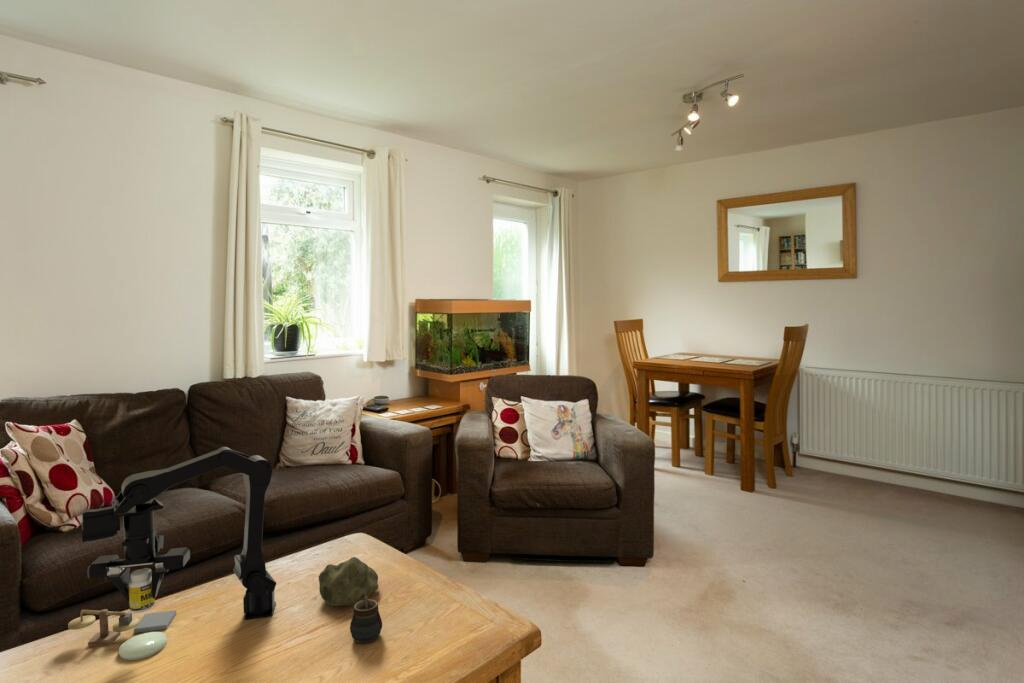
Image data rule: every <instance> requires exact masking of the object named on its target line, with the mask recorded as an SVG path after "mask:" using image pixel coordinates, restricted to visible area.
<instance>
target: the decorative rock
mask: <svg viewBox="0 0 1024 683" xmlns="http://www.w3.org/2000/svg"><path fill="white" fill-rule="evenodd" d="M318 582H319V594H320V596H321V598H322V599H323V600H324V602H326V603H327V604H328V605H330V606H333V607H334V606H336V607H338V606H354V605H355V604H356V603H357V602H359V601H362V600H364V599H365V596H364V589H366V593H367V597H369V595H371V594H372V592H374V591H376V590H378V589H379V583H378V582H379V576H378V573H377V572H376V571H375V570H374V569H373V568H372V567H370V566H368V564H367V563H366V562H363V561H361V560H360V559H359V558H358V557H356V556H351V557H350V558H349V559H347V560H346V561H344V562H340V563H338V564H337V565H336V564H330V563H329V564H327V565H326V566H325V568H324V569H323V570H322V571H321V572H320V573H319V575H318Z"/></svg>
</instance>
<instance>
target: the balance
mask: <svg viewBox="0 0 1024 683" xmlns="http://www.w3.org/2000/svg"><path fill="white" fill-rule="evenodd" d="M79 615H80V616H79V617H76V618H74V619H72V620H71V621H69V622H68V624H67V628H68V629H69V630H70V631H71V630H72V631H74V630H75V631H76V630H80V629H84V628H87V627H89V626H92V625H93V624H94V623H95V622H96V616H95V615H99V632H95V633H94V634H93V636H92V637H91V638H90V639H89V640H88V642H87V647H89V648H90V647H96V646H104V645H111V644H114V643H115V642H116V641H117V639H118V638H119V636H121V634H122V633H123V632H126V631H130V630H132V629H134V628H135V627H136V626H137V625H138V623H139V619H138V618H137V617H133V613H132V612H125V611H109V610H108V608H104V609H101V610H97V609H96V610H95V609H93V610H92V609H91V610H90V609H81V611H80V614H79ZM109 616H115V617H117V616H118V621H117V622H115V623H114V624H113V625H112V630H110V629H109ZM109 630H110V631H109Z"/></svg>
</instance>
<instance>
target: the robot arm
mask: <svg viewBox="0 0 1024 683" xmlns="http://www.w3.org/2000/svg"><path fill="white" fill-rule="evenodd" d="M223 467H227V468H230V469H232V470H235V471H236V472H239V473H242V479H243V483H244V486H245V491H246V501H245V515H244V516H245V518H244V531H243V532H244V533H243V535H244V536H243V548H242V551H241V553H240V554H234V557H233V558H234V567H233V569H232V571H233V572H234V575H235V576H236V577H237V579H238V581H240V584H241V585H242V586H243V588H245V589H246V590H245V593H244V595H243V598H242V600H243V601H242V602H243V606H242V607H243V614H244V620H248V619H249V620H250V619H256V618H264V617H271V616H273V615H274V611H275V608H276V605H277V602H276V600H275V590H276V586H277V582H276V580H275V578H273V576H271V574H270V573H269V571H268V570H267V567H266V561H265V557H264V553H263V538H264V537H263V534H264V520H265V519H264V518H265V506H266V504H265V503H266V502H265V501H266V499H265V498H266V493H267V491H268V489H269V487H270V485H271V481H272V476H273V472H274V469H273V465H272V463H270V462H269V461H268V460H267V459H266V458H264V457H262V456H261V455H258V454H256V455H255V454H254V455H251V456H250V455H248V454H245V453H243V452H239V451H237V450H234V449H231V448H230V447H227V446H222V447H219V448H218V449H216V450H213V451H210V452H208V453H205V454H203V455H200V456H197V457H194V458H191V459H188V460H186V461H183V462H180V463H177V464H175V465H172V466H170V467H168V468H164V469H163V468H162V469H155V470H148V471H142V472H137V473H134V474H131V475H129V476H127V477H125V479H124V480H123V482H122V483H121V489H120V490H121V491H119V493H118V495H117V496H116V497H115V499H114V500H113V501H112V503H111V506H106V507H100V508H99V507H98V508H93V509H91V508H89V509H85V510H82V514H81V516H82V522H81V536H82V537H81V540H82V544H88V543H92V542H97V541H103V540H106V539H111V538H115V535H118V532H121V517H122V519H123V520H122V523H123V540H122V542H121V546H122V547H124V558H120V556H119V555H118V554H115V553H114V554H108V555H99V556H98V557H97V558H96V559H95V560H94V561H93V562H91V564H89V565H88V566H87V571H86V572H87V579H95V578H103V577H104V576H105V575H106V576H105V581H110V582H112V584H113V585H114V586H115V587H117V589H118V591H120V593H121V595H122V596H123V597H124V599H125V601H126V602H128V603H129V583H130V582H131V579H130V574H131V573H130V572H131V568H134V567H135V568H137V567H146V566H154V567H155V568H154V570H153V571H151V572H152V573H151V577H152V596H153V598H155V599H156V598H157V596H158V593H159V590H160V586H161V584H162V581H163V578H164V575H165V574H167V573H168V572H169V570H179V569H182V568H184V567H185V565H186V564H187V563H188V561H189V560H190V558H191V550H190V549H189V548H188V547H187V546H186V547H176V548H170V549H169V550H168V551H167V553H166V554H160V555H159V552H160V551H161V550H163V549H164V541H165V540H164V538H165V535H163V534H162V535H157V534H158V532H157V530H156V529H155V514H154V513H155V512H154V511H158V510H163V509H164V507H165V506H164V504H163V503H162V501H160V500H157V497H159V496H160V495H161V494H163V493H164V492H165V491H167V490H168V489H170V488H172V487H174V486H176V485H179V484H182V483H184V482H187V481H188V480H189V481H190V480H192V479H194V478H196V477H199V476H202V475H205V474H207V473H210V472H212V471H215V470H218V469H220V468H223ZM156 554H158V555H156Z"/></svg>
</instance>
